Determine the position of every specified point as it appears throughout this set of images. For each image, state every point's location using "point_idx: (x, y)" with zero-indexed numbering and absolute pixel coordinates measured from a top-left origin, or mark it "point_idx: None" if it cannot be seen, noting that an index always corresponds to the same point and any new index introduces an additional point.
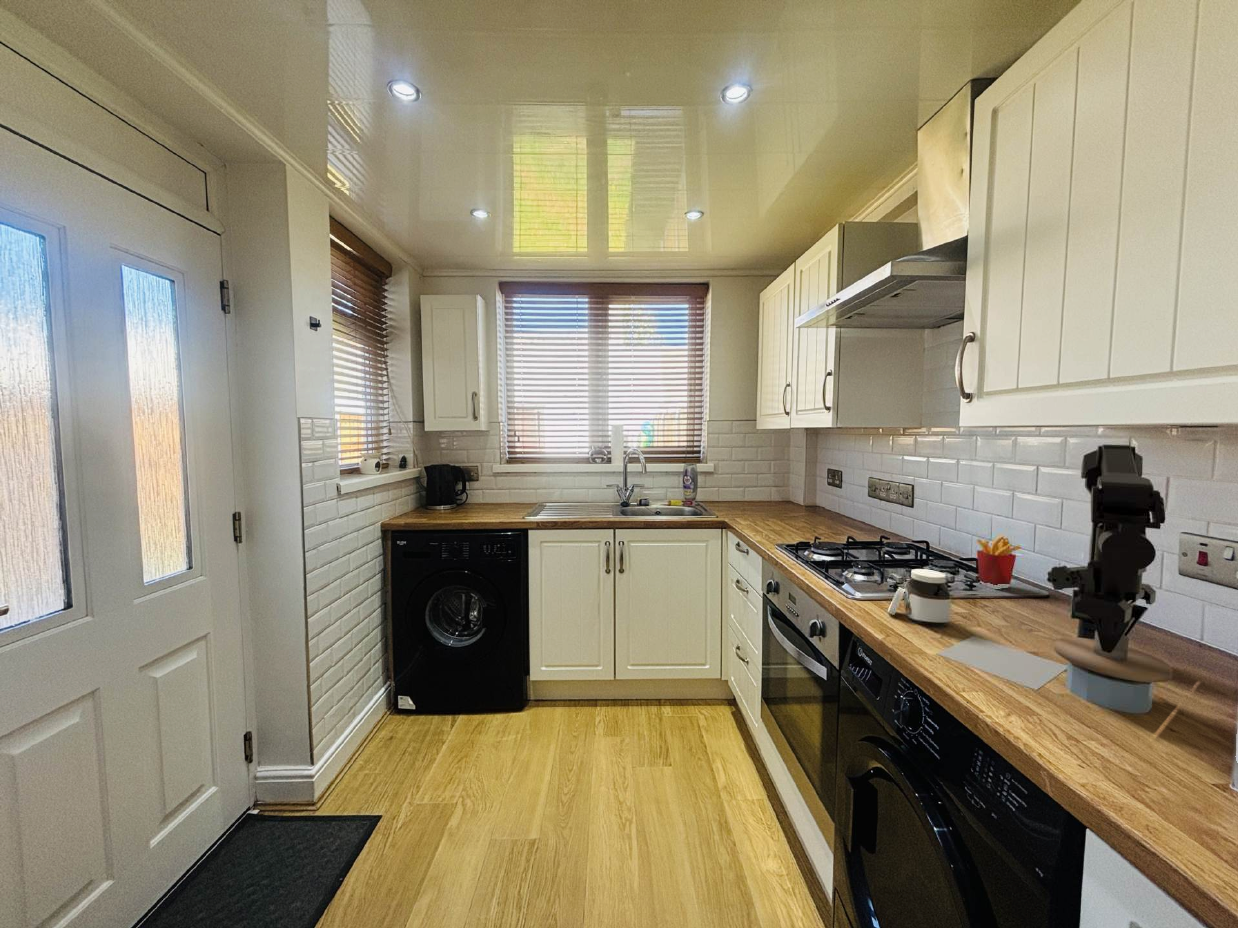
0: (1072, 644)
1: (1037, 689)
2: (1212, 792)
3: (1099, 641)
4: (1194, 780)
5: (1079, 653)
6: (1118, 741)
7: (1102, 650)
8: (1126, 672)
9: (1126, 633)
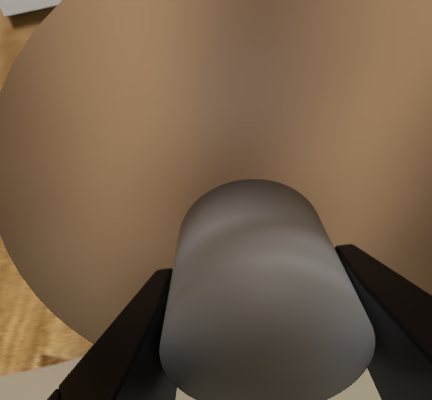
0: (218, 61)
1: (15, 14)
2: (17, 361)
3: (123, 310)
4: (23, 345)
5: (88, 169)
6: (4, 260)
7: (156, 271)
8: (92, 337)
9: (383, 395)
